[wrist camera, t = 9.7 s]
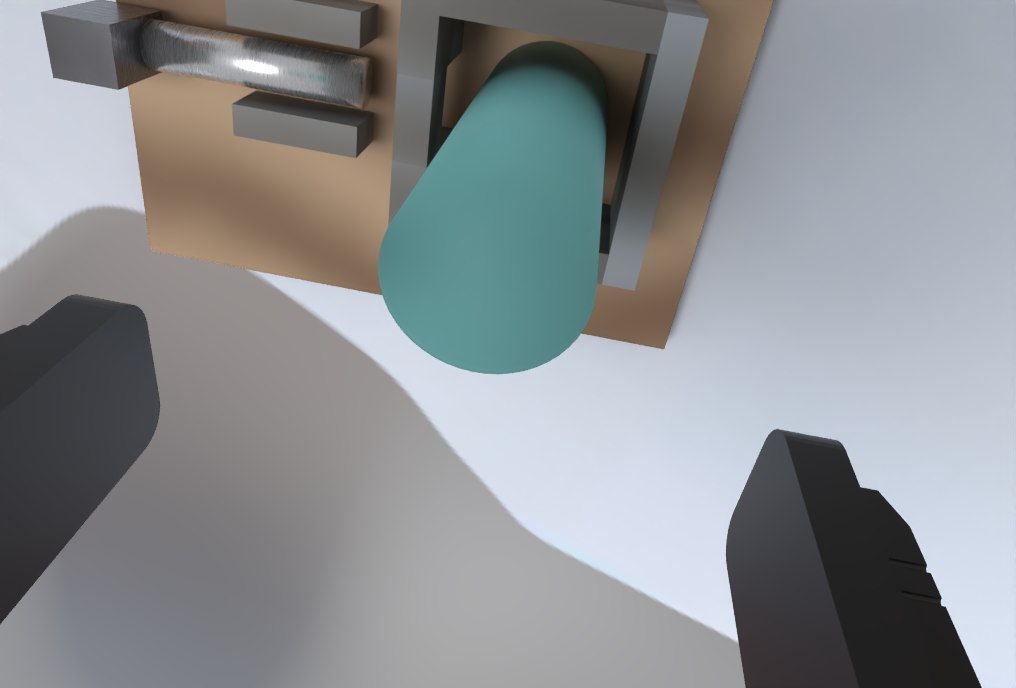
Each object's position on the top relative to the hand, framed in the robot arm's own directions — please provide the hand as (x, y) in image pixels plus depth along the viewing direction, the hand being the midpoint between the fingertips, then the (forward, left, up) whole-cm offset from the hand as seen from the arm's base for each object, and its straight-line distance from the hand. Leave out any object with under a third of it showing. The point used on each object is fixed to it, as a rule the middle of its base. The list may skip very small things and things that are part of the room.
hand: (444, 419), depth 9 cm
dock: (0, -4, -17) cm, 18 cm away
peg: (0, 0, -16) cm, 16 cm away
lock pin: (0, -10, -16) cm, 19 cm away
